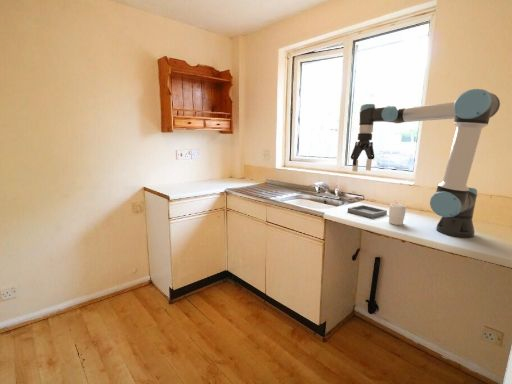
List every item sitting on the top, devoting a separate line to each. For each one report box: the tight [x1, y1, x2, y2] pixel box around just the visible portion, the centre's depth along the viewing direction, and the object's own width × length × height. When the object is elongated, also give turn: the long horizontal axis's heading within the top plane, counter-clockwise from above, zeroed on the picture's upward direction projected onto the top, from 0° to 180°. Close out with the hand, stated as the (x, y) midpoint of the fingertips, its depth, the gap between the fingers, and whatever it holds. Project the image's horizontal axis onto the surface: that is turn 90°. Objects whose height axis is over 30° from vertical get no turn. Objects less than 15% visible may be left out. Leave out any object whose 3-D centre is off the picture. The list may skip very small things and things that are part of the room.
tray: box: [347, 204, 388, 219], centre depth 167 cm, size 16×16×2 cm
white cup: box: [388, 203, 407, 226], centre depth 148 cm, size 8×8×10 cm
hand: (361, 170), depth 159 cm, fingers open, 13 cm apart
